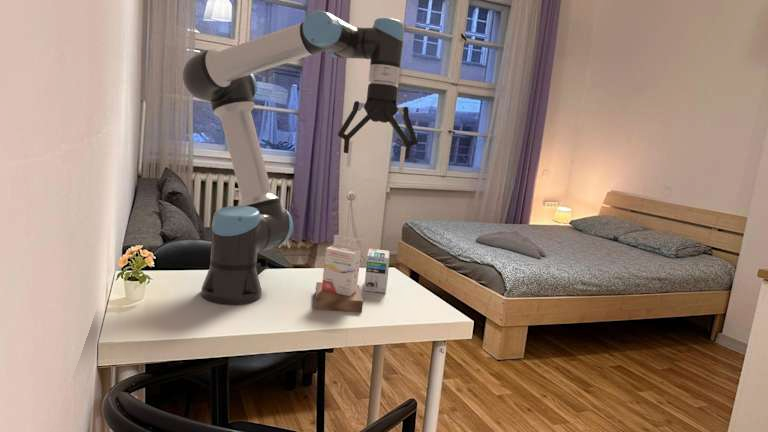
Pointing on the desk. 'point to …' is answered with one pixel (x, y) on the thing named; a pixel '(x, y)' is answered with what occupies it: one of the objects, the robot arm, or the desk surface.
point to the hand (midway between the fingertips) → (374, 169)
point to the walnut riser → (338, 300)
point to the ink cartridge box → (342, 266)
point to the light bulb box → (377, 270)
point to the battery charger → (261, 265)
